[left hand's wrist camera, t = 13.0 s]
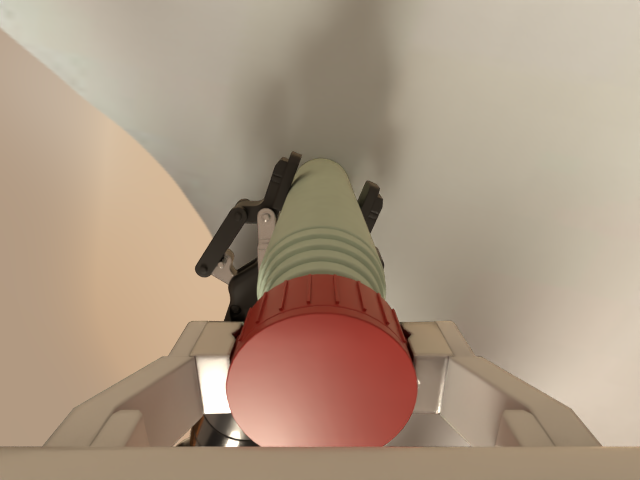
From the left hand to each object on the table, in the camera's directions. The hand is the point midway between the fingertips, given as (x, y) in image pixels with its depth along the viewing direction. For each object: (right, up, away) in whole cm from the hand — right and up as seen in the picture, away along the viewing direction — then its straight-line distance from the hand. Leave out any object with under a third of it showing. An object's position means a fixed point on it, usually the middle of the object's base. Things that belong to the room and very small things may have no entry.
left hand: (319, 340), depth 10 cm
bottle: (0, +7, +20) cm, 22 cm away
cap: (0, -1, -2) cm, 2 cm away
